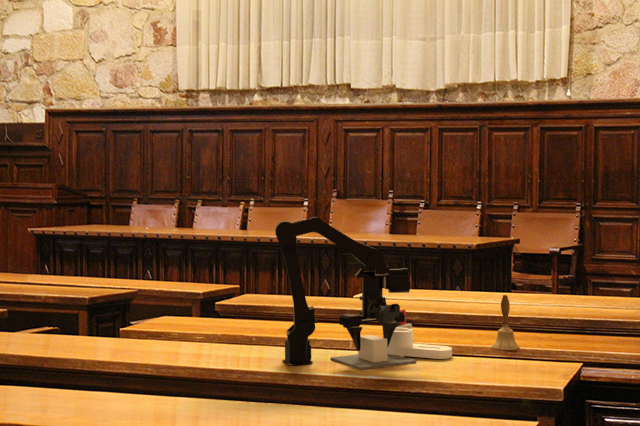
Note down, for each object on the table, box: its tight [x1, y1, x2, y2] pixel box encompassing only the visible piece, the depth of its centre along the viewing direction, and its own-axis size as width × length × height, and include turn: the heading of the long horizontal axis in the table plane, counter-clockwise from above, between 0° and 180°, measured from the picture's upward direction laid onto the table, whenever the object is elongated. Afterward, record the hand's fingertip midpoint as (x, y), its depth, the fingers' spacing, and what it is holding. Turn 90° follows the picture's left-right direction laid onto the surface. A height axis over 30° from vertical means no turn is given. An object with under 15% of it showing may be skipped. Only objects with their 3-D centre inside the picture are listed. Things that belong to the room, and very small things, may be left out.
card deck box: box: [357, 334, 387, 362], centre depth 226 cm, size 8×4×6 cm, turn 29°
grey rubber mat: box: [330, 353, 417, 371], centre depth 226 cm, size 18×16×1 cm
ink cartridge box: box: [396, 308, 413, 330], centre depth 256 cm, size 2×11×10 cm, turn 146°
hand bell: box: [491, 294, 521, 351], centre depth 245 cm, size 8×8×16 cm
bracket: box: [387, 328, 453, 360], centre depth 234 cm, size 20×9×7 cm, turn 71°
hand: (372, 349), depth 226 cm, fingers open, 9 cm apart
